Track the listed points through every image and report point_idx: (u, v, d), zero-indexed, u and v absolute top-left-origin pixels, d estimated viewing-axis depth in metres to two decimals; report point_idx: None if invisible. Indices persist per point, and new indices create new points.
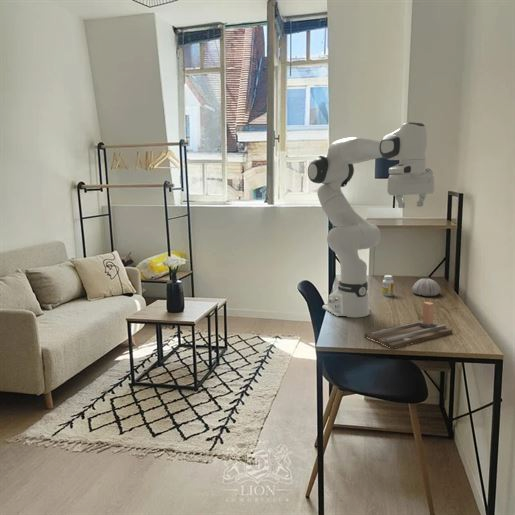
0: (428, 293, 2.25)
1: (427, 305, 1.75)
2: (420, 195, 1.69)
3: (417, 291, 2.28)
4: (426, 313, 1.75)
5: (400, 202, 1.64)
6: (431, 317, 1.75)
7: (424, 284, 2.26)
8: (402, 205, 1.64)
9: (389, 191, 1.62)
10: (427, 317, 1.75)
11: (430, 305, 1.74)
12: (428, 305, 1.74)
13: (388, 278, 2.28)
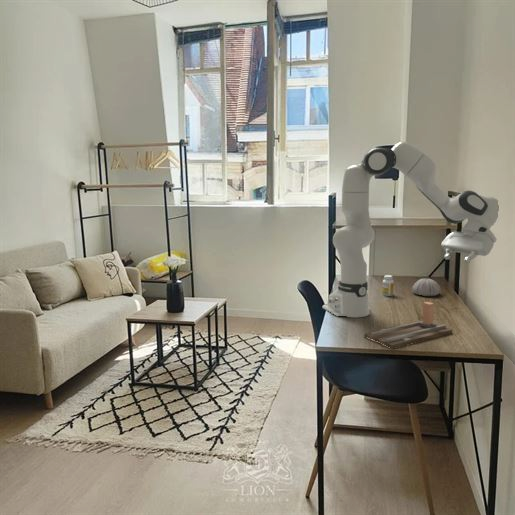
0: (428, 293, 2.25)
1: (427, 305, 1.75)
2: (450, 250, 1.84)
3: (417, 291, 2.28)
4: (426, 313, 1.75)
5: (471, 258, 1.74)
6: (431, 317, 1.75)
7: (424, 284, 2.26)
8: None
9: (485, 250, 1.71)
10: (427, 317, 1.75)
11: (430, 305, 1.74)
12: (428, 305, 1.74)
13: (388, 278, 2.28)
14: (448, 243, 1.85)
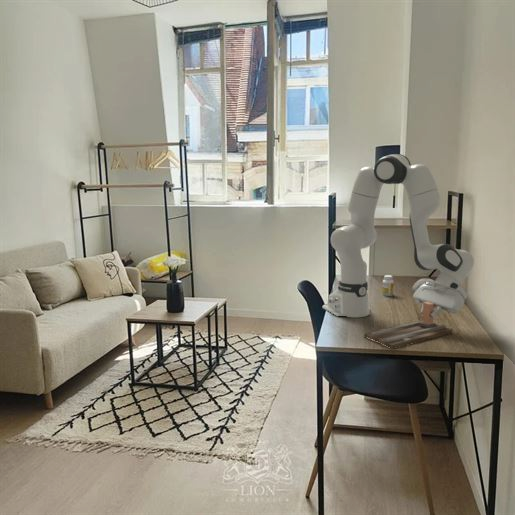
0: None
1: (427, 305, 1.75)
2: None
3: None
4: (426, 313, 1.75)
5: (436, 313, 1.74)
6: (431, 317, 1.75)
7: None
8: None
9: (456, 308, 1.68)
10: (427, 317, 1.75)
11: (430, 305, 1.74)
12: (428, 305, 1.74)
13: (388, 278, 2.28)
14: (419, 296, 1.82)
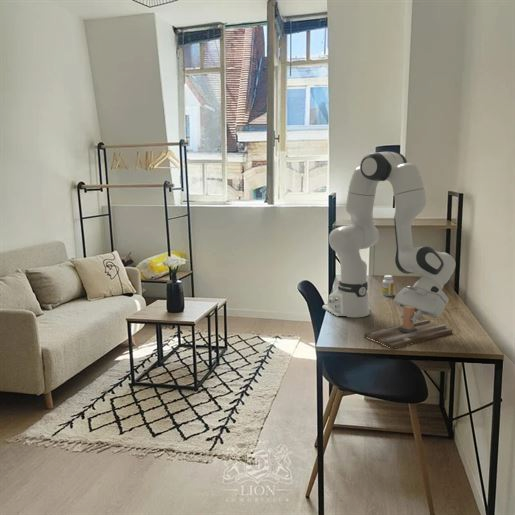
0: None
1: (407, 309, 1.70)
2: None
3: None
4: (406, 317, 1.71)
5: (417, 318, 1.69)
6: (412, 322, 1.71)
7: None
8: None
9: (436, 312, 1.63)
10: (407, 322, 1.70)
11: (410, 309, 1.69)
12: (408, 309, 1.69)
13: (388, 278, 2.28)
14: (400, 300, 1.77)
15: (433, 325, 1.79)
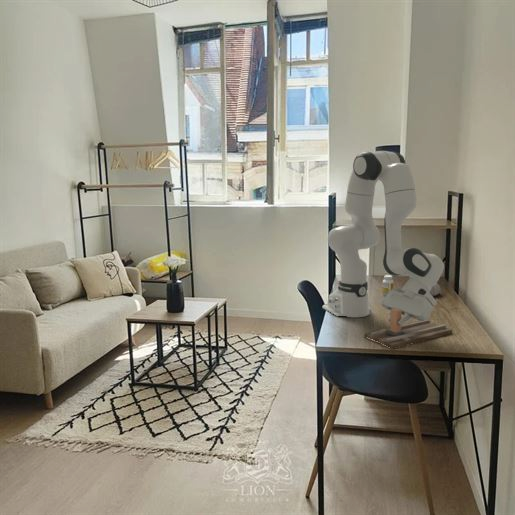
0: None
1: (394, 312, 1.67)
2: None
3: None
4: (394, 320, 1.67)
5: (404, 321, 1.66)
6: (399, 325, 1.68)
7: None
8: None
9: (423, 315, 1.60)
10: (394, 325, 1.67)
11: (397, 312, 1.66)
12: (395, 312, 1.66)
13: (388, 278, 2.28)
14: (387, 302, 1.74)
15: (433, 325, 1.79)
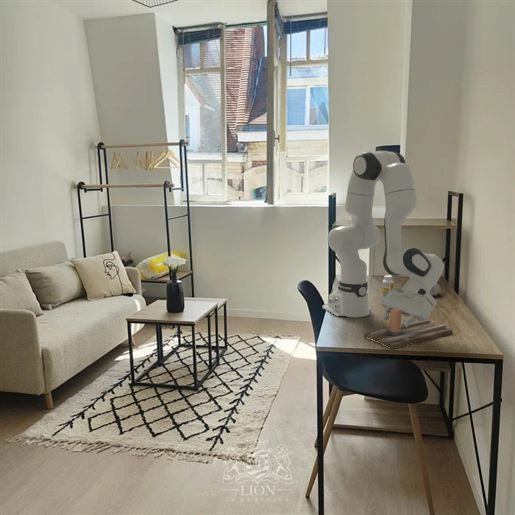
0: None
1: (394, 312, 1.67)
2: (389, 309, 1.73)
3: None
4: (393, 320, 1.67)
5: (409, 322, 1.64)
6: (399, 325, 1.68)
7: None
8: None
9: (423, 315, 1.60)
10: (394, 325, 1.67)
11: (397, 312, 1.66)
12: (395, 312, 1.66)
13: (388, 278, 2.28)
14: (387, 302, 1.74)
15: (433, 325, 1.79)
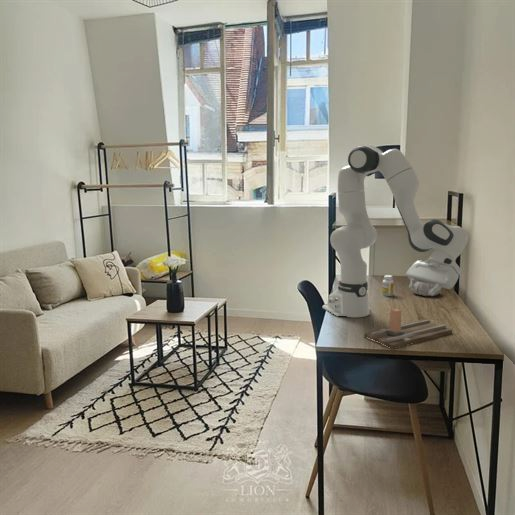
0: None
1: (394, 312, 1.67)
2: (414, 280, 1.78)
3: (417, 291, 2.28)
4: (393, 320, 1.67)
5: (435, 291, 1.68)
6: (399, 325, 1.68)
7: (424, 284, 2.26)
8: None
9: (449, 283, 1.65)
10: (394, 325, 1.67)
11: (397, 312, 1.66)
12: (395, 312, 1.66)
13: (388, 278, 2.28)
14: (413, 273, 1.78)
15: (433, 325, 1.79)
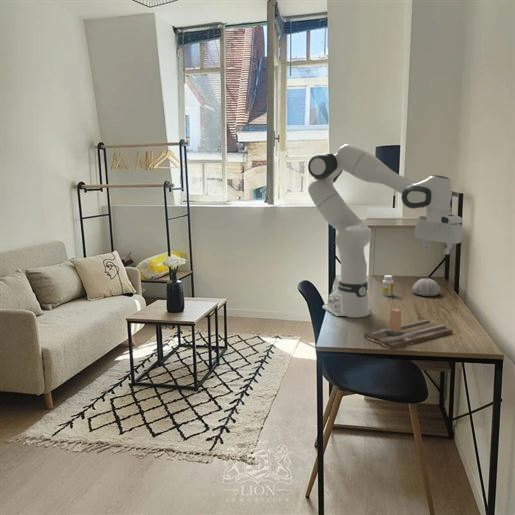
0: (428, 293, 2.25)
1: (394, 312, 1.67)
2: (425, 241, 1.85)
3: (417, 291, 2.28)
4: (393, 320, 1.67)
5: (449, 249, 1.76)
6: (399, 325, 1.68)
7: (424, 284, 2.26)
8: None
9: (457, 240, 1.71)
10: (394, 325, 1.67)
11: (397, 312, 1.66)
12: (395, 312, 1.66)
13: (388, 278, 2.28)
14: (420, 236, 1.85)
15: (433, 325, 1.79)
